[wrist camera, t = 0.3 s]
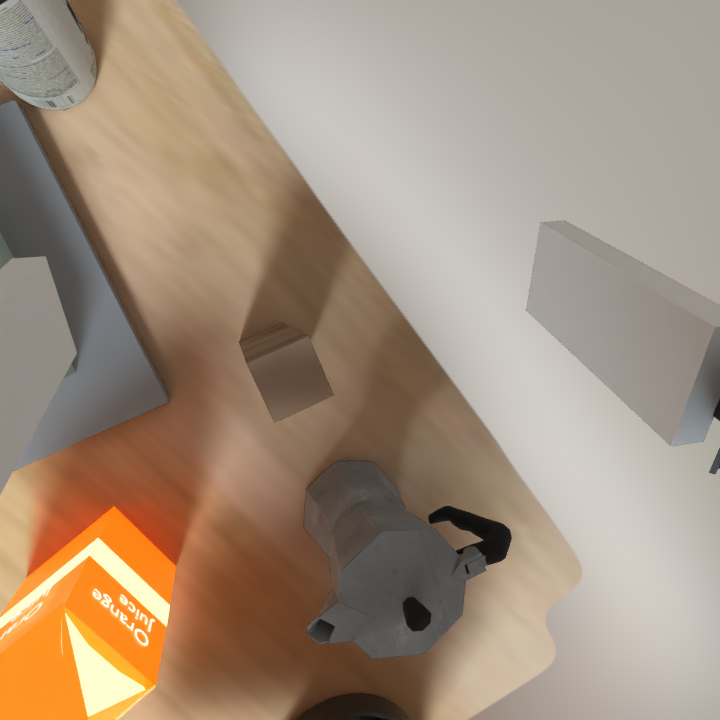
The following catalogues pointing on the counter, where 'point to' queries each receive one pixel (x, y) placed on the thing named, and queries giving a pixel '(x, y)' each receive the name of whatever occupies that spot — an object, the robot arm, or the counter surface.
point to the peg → (285, 370)
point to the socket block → (70, 299)
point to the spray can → (45, 53)
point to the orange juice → (87, 627)
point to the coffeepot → (390, 562)
